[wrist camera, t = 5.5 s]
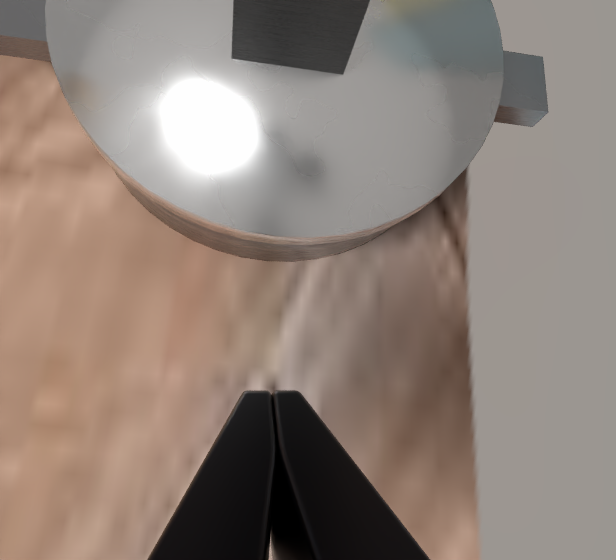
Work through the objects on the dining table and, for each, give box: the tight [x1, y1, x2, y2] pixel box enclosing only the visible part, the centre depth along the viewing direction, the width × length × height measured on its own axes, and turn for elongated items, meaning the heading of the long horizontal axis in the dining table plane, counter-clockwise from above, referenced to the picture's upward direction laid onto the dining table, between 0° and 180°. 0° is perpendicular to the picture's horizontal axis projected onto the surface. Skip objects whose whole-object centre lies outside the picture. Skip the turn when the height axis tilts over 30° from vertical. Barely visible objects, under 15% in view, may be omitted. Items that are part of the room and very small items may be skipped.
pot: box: [0, 0, 548, 262], centre depth 19 cm, size 14×20×3 cm
